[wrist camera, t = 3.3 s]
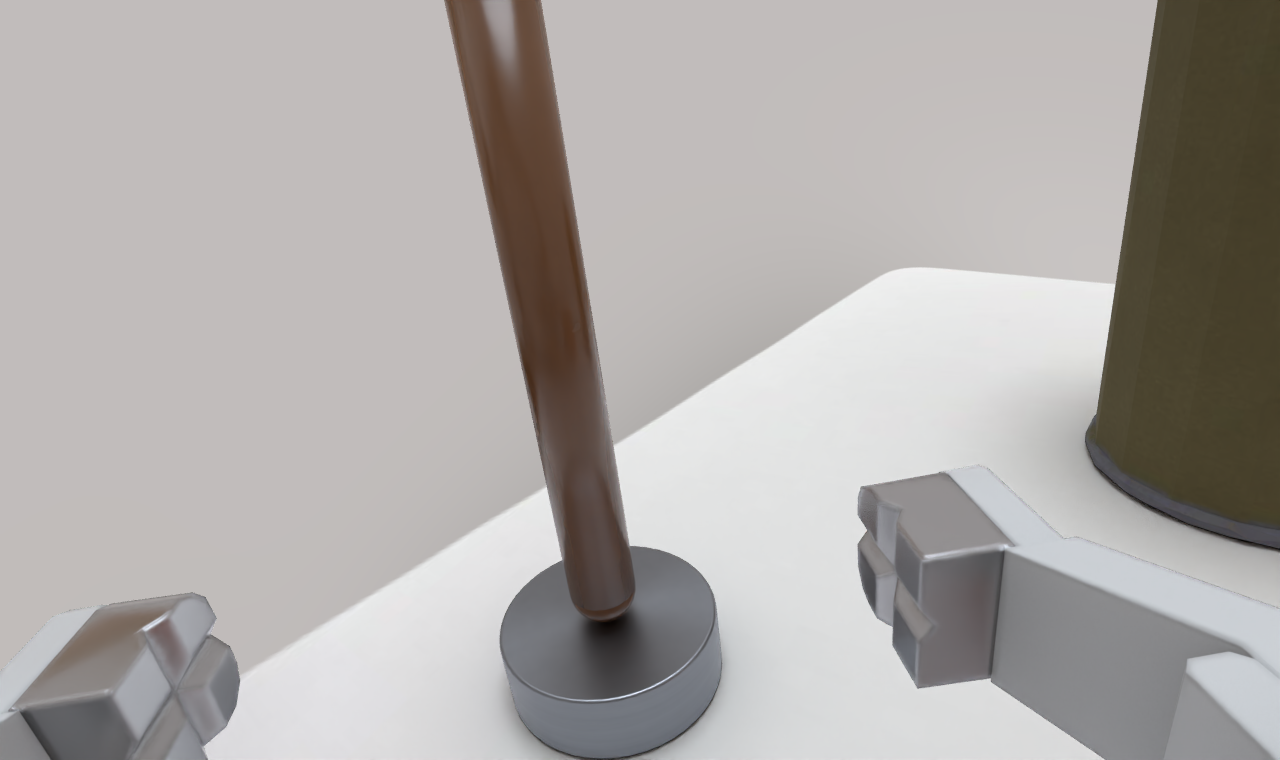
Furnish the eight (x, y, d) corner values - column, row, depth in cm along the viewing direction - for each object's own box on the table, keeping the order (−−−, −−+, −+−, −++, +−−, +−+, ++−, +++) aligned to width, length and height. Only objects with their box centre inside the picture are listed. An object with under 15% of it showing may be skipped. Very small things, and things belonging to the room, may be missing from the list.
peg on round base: (567, 806, 17) (323, -163, 9) (484, 652, 22) (281, -64, 14) (766, 682, 19) (704, -159, 12) (652, 570, 24) (556, -76, 17)
